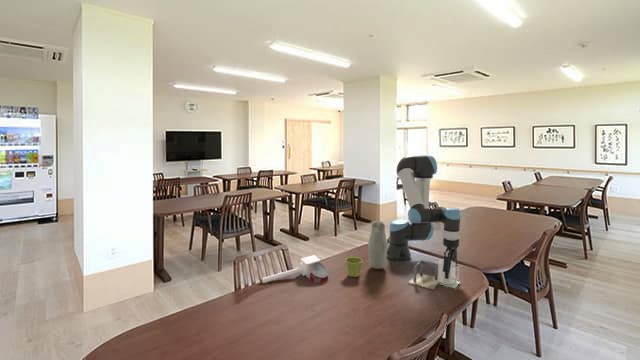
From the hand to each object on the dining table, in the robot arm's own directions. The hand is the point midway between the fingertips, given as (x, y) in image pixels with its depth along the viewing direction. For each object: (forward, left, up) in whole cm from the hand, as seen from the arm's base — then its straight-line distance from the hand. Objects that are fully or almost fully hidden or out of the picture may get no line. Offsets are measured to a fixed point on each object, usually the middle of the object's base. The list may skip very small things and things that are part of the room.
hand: (449, 281), depth 173 cm
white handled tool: (-71, -43, -2) cm, 83 cm away
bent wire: (-11, -5, -1) cm, 12 cm away
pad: (0, 0, -2) cm, 2 cm away
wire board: (-11, -5, -2) cm, 12 cm away
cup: (0, -1, 0) cm, 1 cm away
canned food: (-58, -35, -2) cm, 68 cm away
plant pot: (-46, -19, -2) cm, 50 cm away
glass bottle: (-40, -2, -2) cm, 41 cm away
